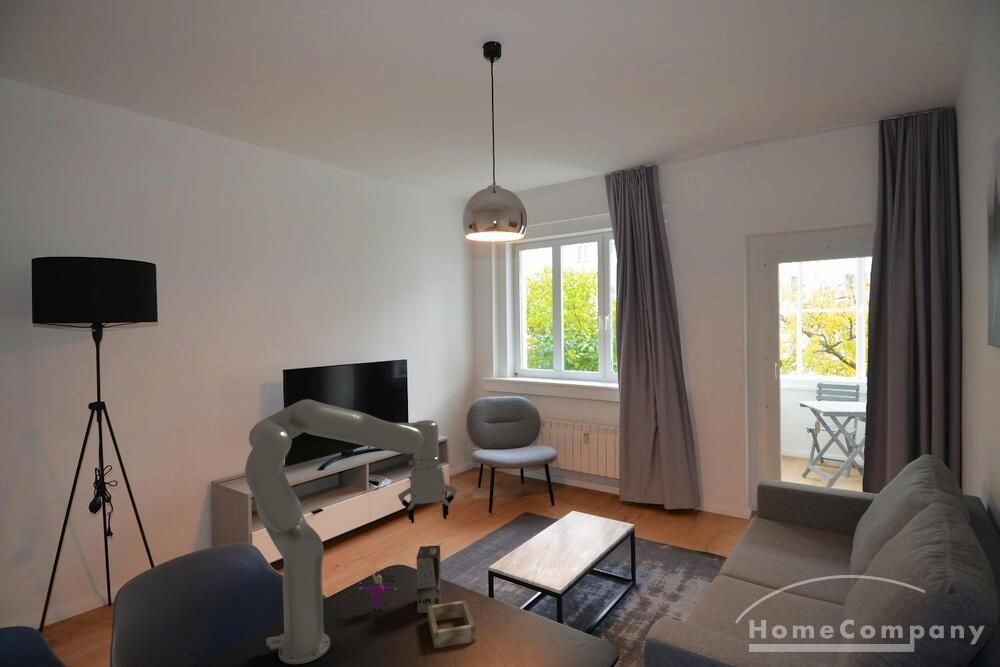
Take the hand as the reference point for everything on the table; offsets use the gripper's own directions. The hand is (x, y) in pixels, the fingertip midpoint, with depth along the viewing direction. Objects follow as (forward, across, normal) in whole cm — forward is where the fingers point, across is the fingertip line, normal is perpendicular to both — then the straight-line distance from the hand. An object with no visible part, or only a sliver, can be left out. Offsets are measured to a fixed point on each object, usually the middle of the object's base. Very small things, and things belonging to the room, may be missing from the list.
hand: (428, 519), depth 160 cm
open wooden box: (+26, +3, -15) cm, 30 cm away
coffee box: (+26, -1, 0) cm, 26 cm away
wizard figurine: (+26, -16, +1) cm, 30 cm away
